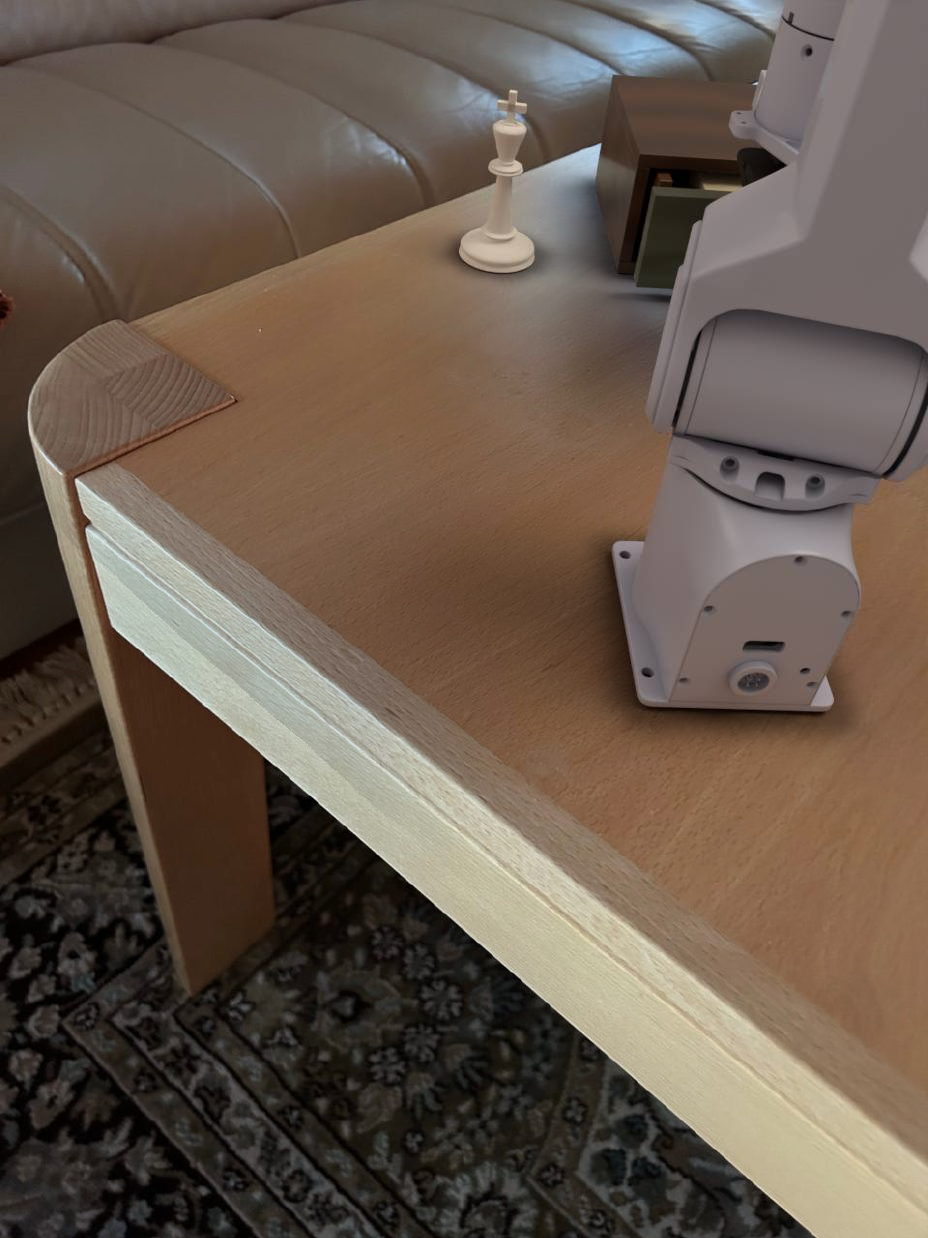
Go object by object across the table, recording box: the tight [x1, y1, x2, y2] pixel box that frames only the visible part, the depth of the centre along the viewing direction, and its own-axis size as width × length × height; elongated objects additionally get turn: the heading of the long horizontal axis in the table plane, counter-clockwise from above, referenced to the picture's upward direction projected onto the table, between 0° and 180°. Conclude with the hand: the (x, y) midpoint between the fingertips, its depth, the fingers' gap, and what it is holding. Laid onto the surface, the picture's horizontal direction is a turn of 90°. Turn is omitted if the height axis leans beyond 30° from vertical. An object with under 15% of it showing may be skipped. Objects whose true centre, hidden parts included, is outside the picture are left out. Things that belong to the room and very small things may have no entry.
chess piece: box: [458, 89, 536, 274], centre depth 63 cm, size 5×5×10 cm
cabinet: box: [594, 74, 763, 275], centre depth 68 cm, size 13×13×8 cm
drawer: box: [633, 168, 734, 290], centre depth 64 cm, size 17×11×6 cm
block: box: [687, 170, 742, 191], centre depth 64 cm, size 4×4×4 cm
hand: (760, 293), depth 57 cm, fingers closed
